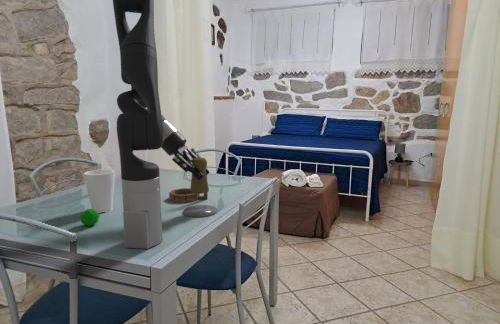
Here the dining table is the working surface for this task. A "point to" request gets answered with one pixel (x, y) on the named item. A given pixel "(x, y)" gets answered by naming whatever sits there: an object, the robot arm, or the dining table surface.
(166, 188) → the dining table surface
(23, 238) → the dining table surface
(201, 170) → the cork
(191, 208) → the slate coaster
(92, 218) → the polyhedron
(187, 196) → the ring stand
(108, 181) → the foam cup
